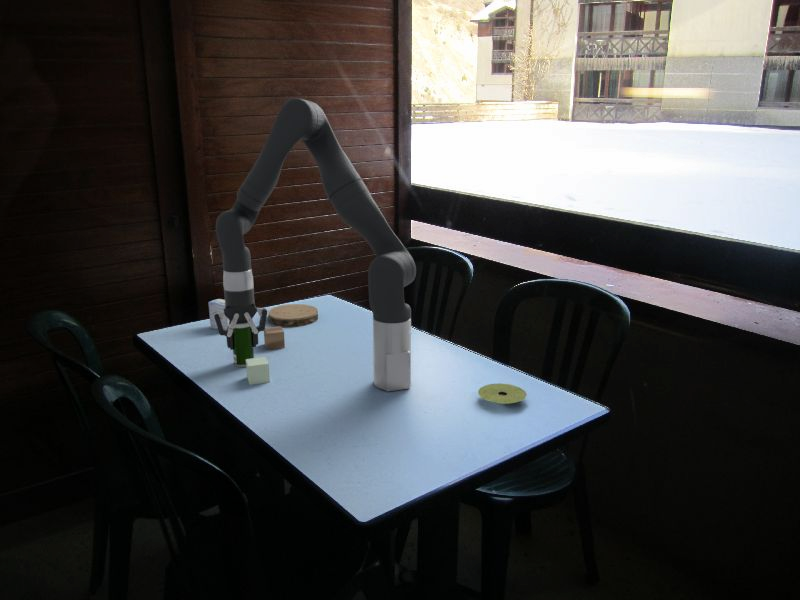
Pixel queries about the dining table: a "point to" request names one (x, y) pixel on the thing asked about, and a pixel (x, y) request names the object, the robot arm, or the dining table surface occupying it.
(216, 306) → the medicine box
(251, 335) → the beer can
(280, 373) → the dining table surface
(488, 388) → the olive yellow disc
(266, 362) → the sage block
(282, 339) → the walnut block
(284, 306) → the round wood slice
